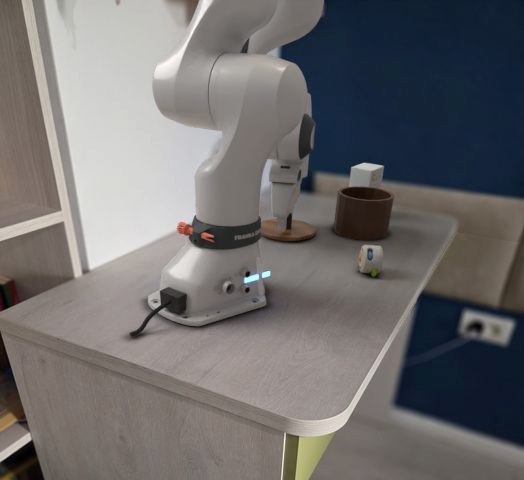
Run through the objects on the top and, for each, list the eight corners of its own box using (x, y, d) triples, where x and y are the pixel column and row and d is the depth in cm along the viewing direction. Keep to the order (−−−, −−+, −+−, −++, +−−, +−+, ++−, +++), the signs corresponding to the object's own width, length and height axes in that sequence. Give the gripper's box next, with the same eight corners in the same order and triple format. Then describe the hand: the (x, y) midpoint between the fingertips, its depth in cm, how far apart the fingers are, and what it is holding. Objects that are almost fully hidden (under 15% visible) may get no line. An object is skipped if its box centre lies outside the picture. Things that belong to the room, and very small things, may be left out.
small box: (357, 208, 145) (363, 162, 138) (377, 213, 142) (385, 165, 135) (344, 215, 139) (350, 166, 132) (365, 219, 136) (372, 170, 129)
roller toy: (359, 277, 102) (363, 250, 99) (355, 265, 108) (359, 240, 105) (380, 278, 102) (385, 251, 99) (375, 266, 108) (380, 241, 105)
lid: (289, 247, 116) (291, 227, 113) (244, 232, 124) (244, 212, 121) (326, 233, 125) (328, 214, 122) (282, 220, 133) (283, 201, 130)
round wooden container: (369, 244, 120) (375, 204, 115) (323, 230, 127) (327, 192, 122) (397, 231, 129) (404, 194, 123) (352, 219, 136) (357, 183, 131)
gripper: (283, 157, 125) (280, 212, 132) (267, 175, 108) (264, 236, 115) (308, 159, 124) (303, 214, 131) (296, 177, 107) (291, 239, 114)
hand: (285, 225), depth 123 cm, fingers open, 8 cm apart
